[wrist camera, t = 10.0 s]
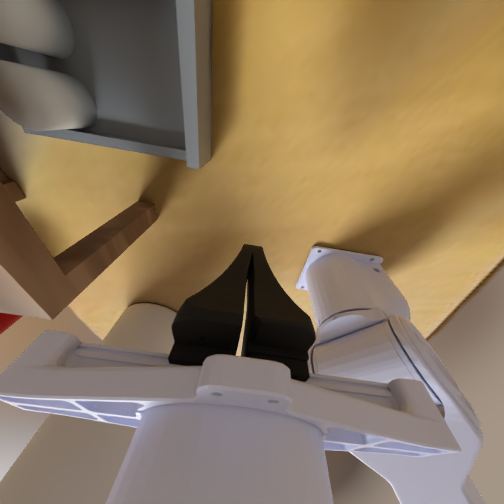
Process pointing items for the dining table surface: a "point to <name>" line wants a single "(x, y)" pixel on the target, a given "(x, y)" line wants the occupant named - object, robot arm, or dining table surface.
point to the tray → (111, 73)
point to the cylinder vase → (85, 432)
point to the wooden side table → (63, 265)
